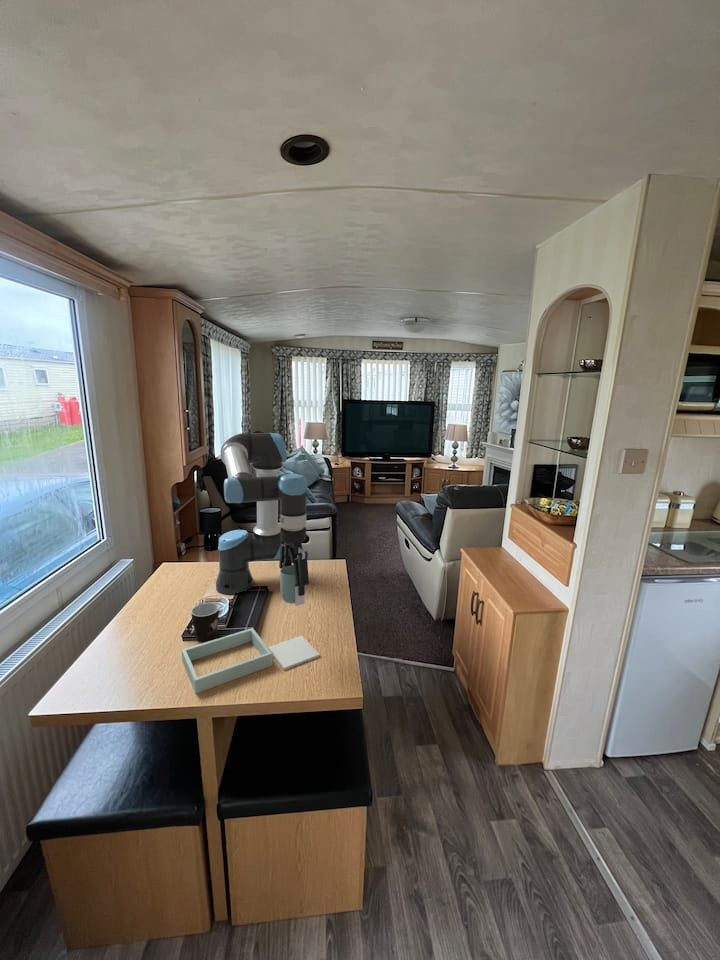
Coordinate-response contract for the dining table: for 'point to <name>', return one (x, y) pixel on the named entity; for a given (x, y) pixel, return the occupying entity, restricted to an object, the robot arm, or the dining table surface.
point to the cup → (288, 584)
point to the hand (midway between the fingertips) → (293, 598)
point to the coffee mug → (205, 621)
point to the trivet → (293, 652)
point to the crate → (230, 671)
